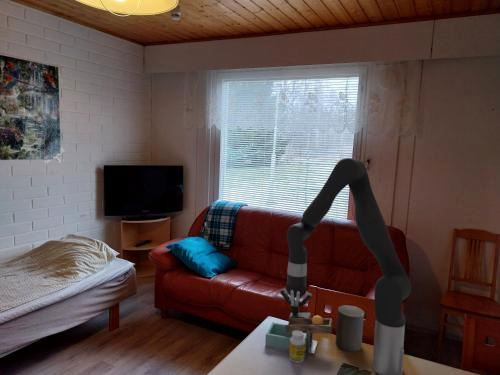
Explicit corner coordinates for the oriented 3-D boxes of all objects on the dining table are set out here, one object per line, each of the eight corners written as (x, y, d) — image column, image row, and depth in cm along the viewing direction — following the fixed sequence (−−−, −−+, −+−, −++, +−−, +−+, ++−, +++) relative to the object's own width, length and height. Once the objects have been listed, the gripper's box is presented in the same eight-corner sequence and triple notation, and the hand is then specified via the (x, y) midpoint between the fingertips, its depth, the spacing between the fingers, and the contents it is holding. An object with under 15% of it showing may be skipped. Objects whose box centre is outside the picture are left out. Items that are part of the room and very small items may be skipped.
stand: (317, 343, 140) (318, 321, 139) (313, 355, 131) (315, 332, 130) (304, 341, 141) (305, 318, 140) (300, 353, 133) (301, 329, 132)
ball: (325, 317, 135) (315, 311, 136) (324, 322, 132) (314, 315, 133) (320, 325, 136) (310, 319, 137) (319, 330, 133) (309, 324, 133)
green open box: (296, 338, 143) (297, 326, 142) (291, 352, 133) (292, 339, 133) (271, 334, 146) (272, 322, 145) (265, 346, 136) (265, 334, 136)
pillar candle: (332, 346, 138) (335, 308, 136) (339, 335, 146) (342, 299, 145) (358, 354, 133) (361, 315, 132) (364, 342, 142) (367, 305, 140)
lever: (334, 315, 144) (334, 308, 144) (331, 333, 130) (330, 326, 130) (291, 315, 150) (290, 308, 150) (283, 332, 136) (282, 325, 135)
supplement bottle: (297, 353, 133) (298, 327, 132) (307, 360, 129) (308, 334, 128) (286, 357, 130) (287, 331, 129) (295, 364, 126) (297, 338, 125)
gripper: (315, 272, 147) (312, 313, 149) (282, 267, 151) (280, 307, 153) (312, 278, 140) (309, 321, 142) (278, 273, 144) (276, 315, 146)
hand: (294, 314), depth 147 cm, fingers closed
